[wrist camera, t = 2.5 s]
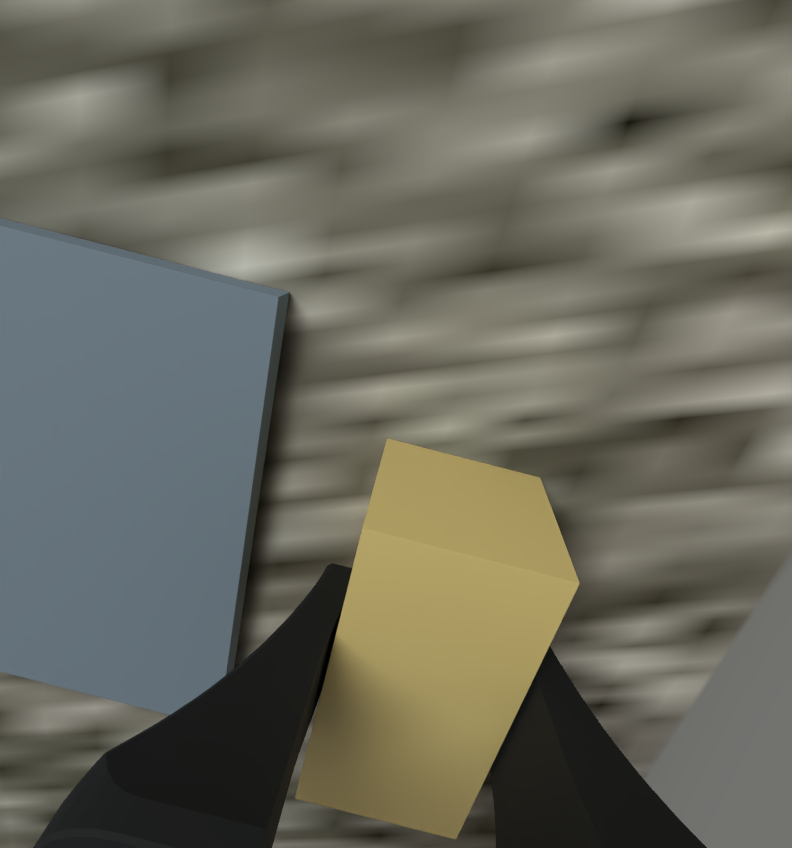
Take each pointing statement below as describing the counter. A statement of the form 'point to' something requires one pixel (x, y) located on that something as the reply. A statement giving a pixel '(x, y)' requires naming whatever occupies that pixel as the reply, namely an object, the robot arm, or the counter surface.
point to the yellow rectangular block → (435, 638)
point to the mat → (128, 465)
